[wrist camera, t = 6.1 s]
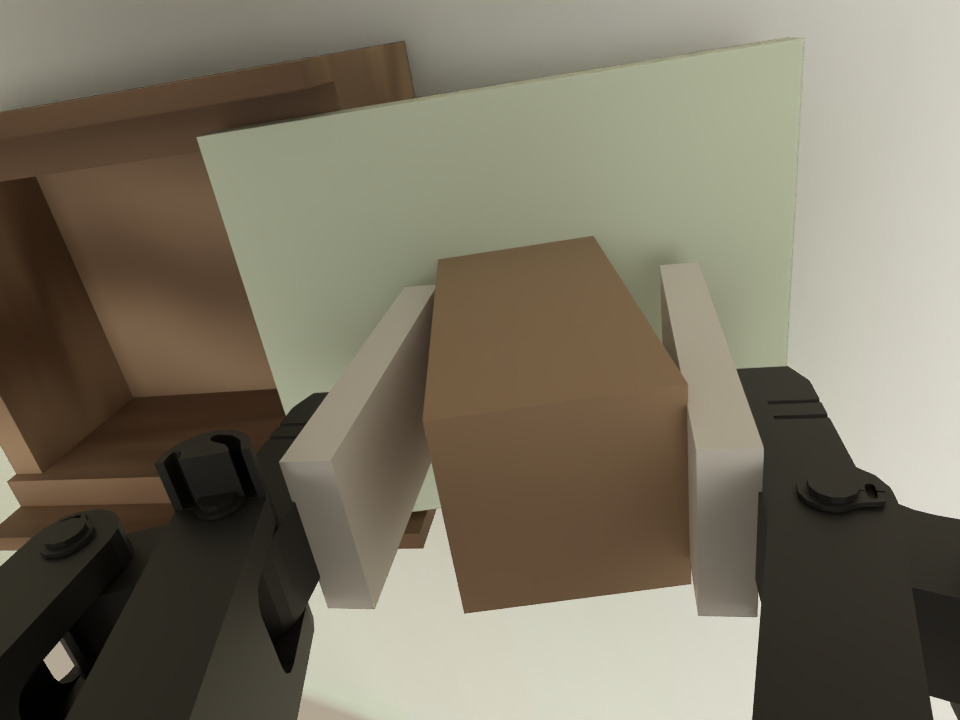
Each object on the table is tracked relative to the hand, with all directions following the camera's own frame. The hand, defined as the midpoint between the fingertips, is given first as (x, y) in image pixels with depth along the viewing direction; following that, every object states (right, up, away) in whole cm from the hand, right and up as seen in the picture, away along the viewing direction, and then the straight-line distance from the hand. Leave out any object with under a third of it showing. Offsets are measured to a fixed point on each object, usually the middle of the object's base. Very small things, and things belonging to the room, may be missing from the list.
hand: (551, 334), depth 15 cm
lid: (-1, +1, +2) cm, 2 cm away
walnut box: (-10, +3, +9) cm, 13 cm away
